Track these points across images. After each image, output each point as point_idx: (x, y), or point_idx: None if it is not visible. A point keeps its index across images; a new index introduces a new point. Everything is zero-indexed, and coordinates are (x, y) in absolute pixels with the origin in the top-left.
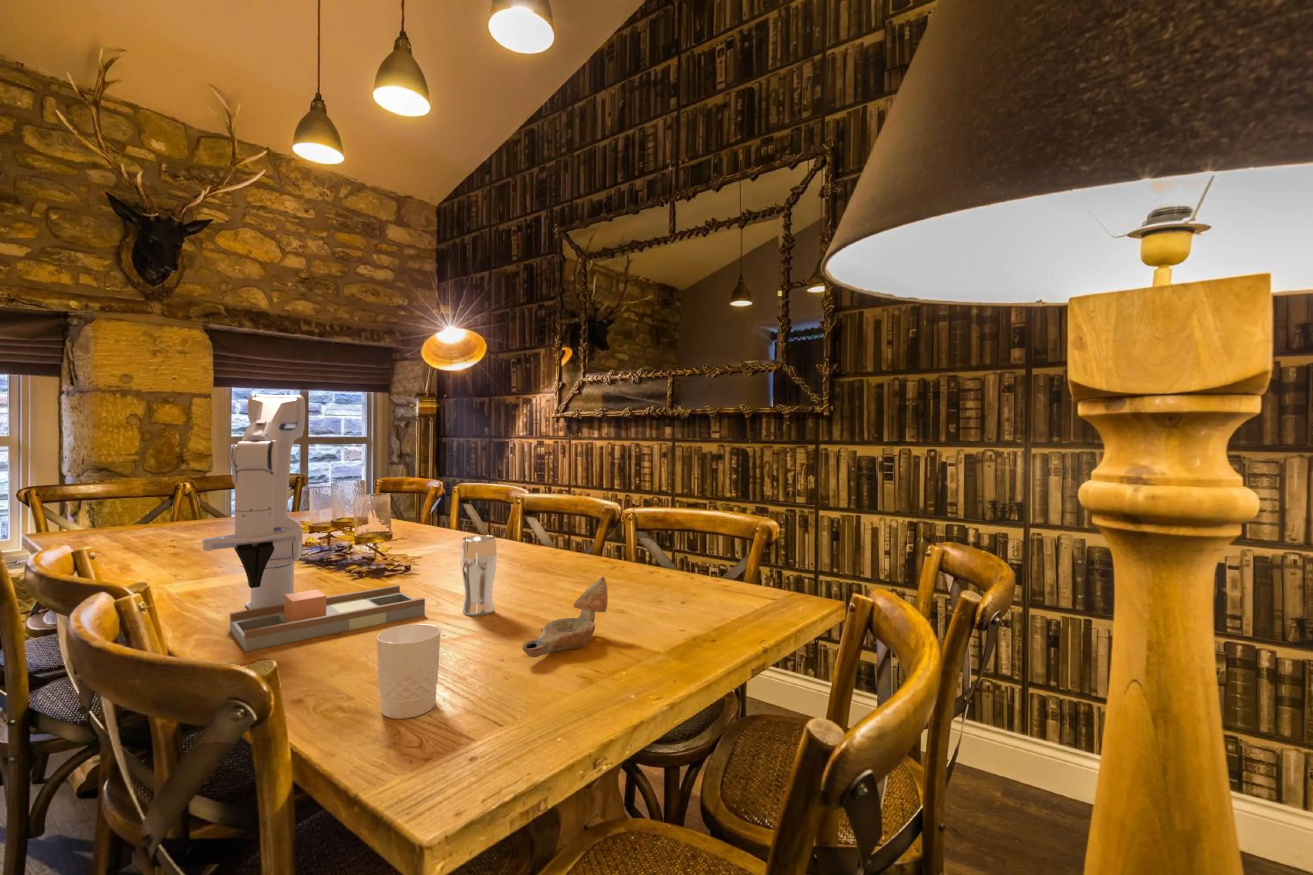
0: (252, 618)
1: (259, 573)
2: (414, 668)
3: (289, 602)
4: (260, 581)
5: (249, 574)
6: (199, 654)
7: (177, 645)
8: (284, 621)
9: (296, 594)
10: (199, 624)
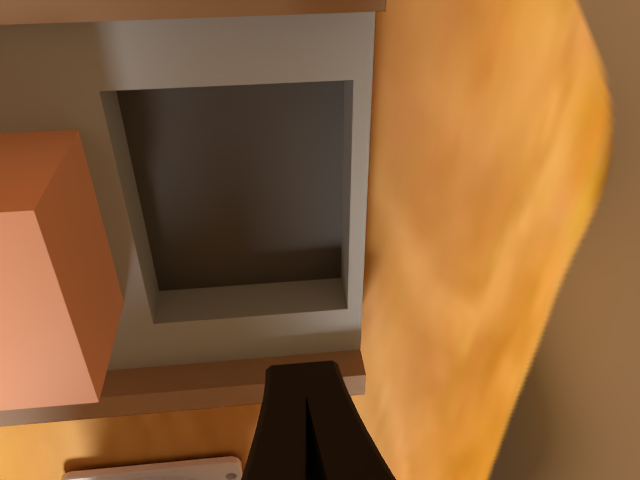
0: (272, 336)
1: (281, 462)
2: None
3: (68, 272)
4: (266, 399)
5: (378, 456)
6: (546, 57)
7: (559, 250)
8: (125, 202)
9: (17, 367)
10: (421, 441)
